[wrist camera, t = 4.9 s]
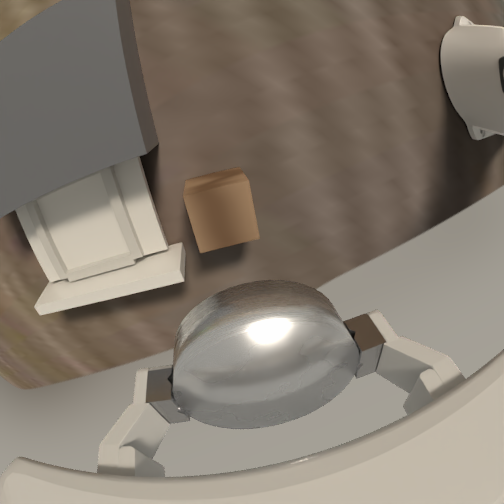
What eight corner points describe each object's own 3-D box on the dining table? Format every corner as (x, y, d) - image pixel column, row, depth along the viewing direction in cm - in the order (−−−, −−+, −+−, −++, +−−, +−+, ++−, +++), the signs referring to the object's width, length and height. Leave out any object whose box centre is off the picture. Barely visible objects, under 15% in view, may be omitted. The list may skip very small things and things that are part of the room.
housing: (129, 1, 14) (112, -24, 9) (158, 143, 22) (146, 153, 17) (-15, 84, 13) (-49, 87, 8) (14, 204, 21) (-16, 227, 16)
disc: (339, 258, 9) (369, 296, 7) (335, 369, 12) (350, 402, 10) (145, 306, 8) (137, 353, 7) (204, 401, 12) (207, 438, 10)
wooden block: (239, 166, 24) (248, 180, 20) (249, 215, 27) (259, 238, 23) (185, 180, 24) (183, 196, 20) (199, 228, 27) (200, 253, 22)
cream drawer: (142, 103, 20) (128, 102, 15) (185, 252, 27) (184, 281, 23) (3, 170, 18) (-24, 185, 14) (55, 287, 26) (39, 315, 22)
